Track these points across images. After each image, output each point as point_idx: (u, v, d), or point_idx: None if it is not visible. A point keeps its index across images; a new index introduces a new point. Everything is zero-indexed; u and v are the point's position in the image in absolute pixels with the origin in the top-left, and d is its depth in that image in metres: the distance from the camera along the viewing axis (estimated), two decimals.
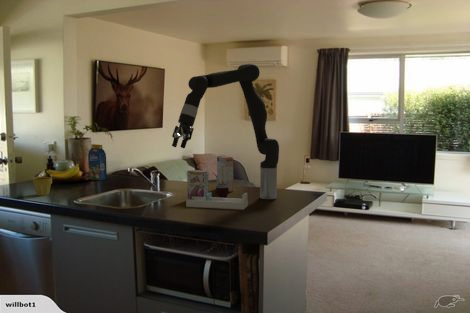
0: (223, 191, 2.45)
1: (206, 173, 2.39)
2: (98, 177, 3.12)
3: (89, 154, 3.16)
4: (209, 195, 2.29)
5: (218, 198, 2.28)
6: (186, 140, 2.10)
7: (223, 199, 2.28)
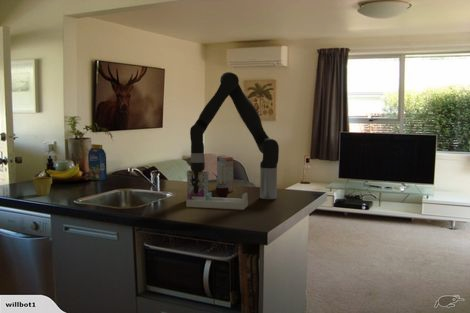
0: (223, 191, 2.45)
1: (206, 173, 2.39)
2: (98, 177, 3.12)
3: (89, 154, 3.16)
4: (209, 195, 2.29)
5: (218, 198, 2.28)
6: (195, 186, 2.38)
7: (223, 199, 2.28)
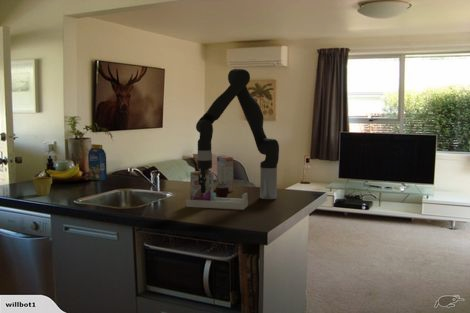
0: (223, 191, 2.45)
1: (212, 174, 2.28)
2: (98, 177, 3.12)
3: (89, 154, 3.16)
4: (214, 195, 2.29)
5: (223, 198, 2.28)
6: (202, 185, 2.26)
7: (228, 199, 2.27)
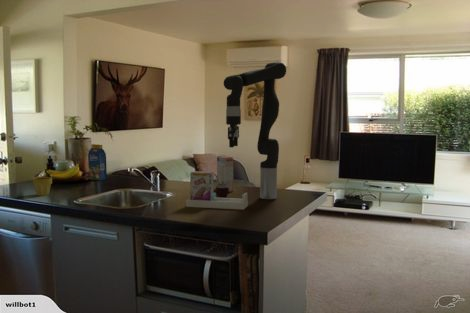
0: (223, 191, 2.45)
1: (212, 174, 2.28)
2: (98, 177, 3.12)
3: (89, 154, 3.16)
4: (213, 195, 2.29)
5: (222, 198, 2.28)
6: (231, 140, 2.26)
7: (227, 199, 2.27)
